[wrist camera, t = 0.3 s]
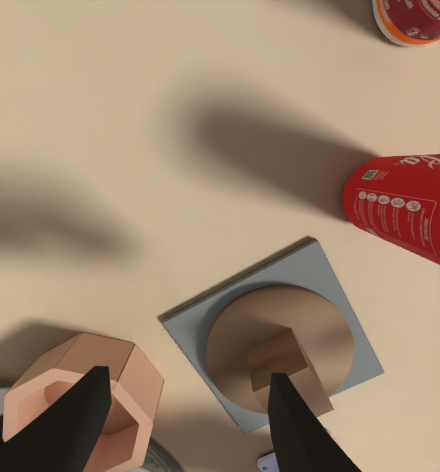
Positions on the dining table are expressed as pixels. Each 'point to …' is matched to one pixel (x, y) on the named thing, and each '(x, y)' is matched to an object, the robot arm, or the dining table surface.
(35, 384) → the bowl
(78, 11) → the dining table surface
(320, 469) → the robot arm
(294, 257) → the mat
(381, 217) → the beverage can
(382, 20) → the pill bottle
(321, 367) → the brown disc
